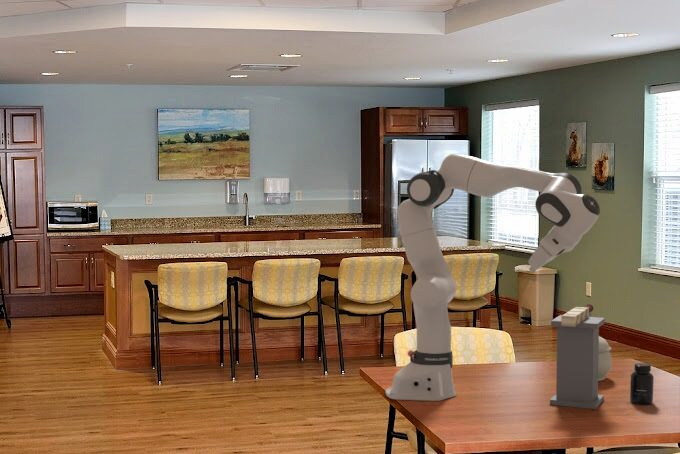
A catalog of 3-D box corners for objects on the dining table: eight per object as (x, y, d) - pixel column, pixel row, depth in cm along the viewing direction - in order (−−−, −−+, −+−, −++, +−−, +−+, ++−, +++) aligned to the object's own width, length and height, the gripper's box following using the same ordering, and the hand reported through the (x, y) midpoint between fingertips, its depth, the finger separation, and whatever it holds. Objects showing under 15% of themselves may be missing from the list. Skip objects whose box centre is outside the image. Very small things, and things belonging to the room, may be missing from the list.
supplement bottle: (637, 405, 302) (638, 367, 301) (625, 400, 308) (626, 362, 308) (657, 404, 304) (658, 365, 303) (645, 399, 310) (645, 361, 309)
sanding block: (574, 326, 290) (575, 316, 290) (561, 325, 292) (561, 315, 292) (588, 317, 309) (588, 307, 309) (575, 316, 311) (575, 306, 311)
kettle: (605, 386, 328) (606, 312, 327) (550, 381, 336) (551, 309, 335) (618, 372, 351) (620, 303, 349) (567, 368, 359) (568, 300, 357)
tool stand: (596, 409, 297) (597, 323, 296) (549, 404, 303) (551, 320, 302) (603, 400, 309) (605, 317, 307) (559, 395, 315) (560, 315, 313)
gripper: (572, 219, 308) (549, 247, 317) (538, 240, 294) (515, 269, 303) (587, 234, 306) (563, 261, 315) (553, 255, 292) (530, 284, 301)
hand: (539, 265), depth 309 cm, fingers open, 8 cm apart
